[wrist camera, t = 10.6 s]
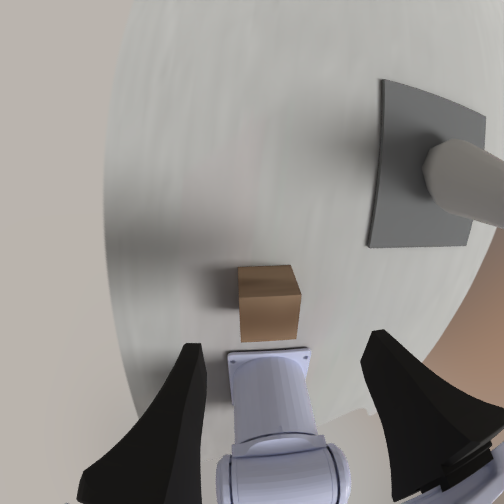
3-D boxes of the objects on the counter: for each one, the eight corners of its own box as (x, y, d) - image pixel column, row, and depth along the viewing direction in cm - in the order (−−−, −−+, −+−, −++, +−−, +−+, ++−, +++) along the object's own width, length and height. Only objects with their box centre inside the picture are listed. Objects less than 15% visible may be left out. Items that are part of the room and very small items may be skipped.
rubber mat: (463, 244, 21) (466, 246, 21) (367, 246, 20) (369, 248, 20) (483, 116, 15) (485, 116, 15) (382, 79, 15) (384, 79, 14)
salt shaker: (422, 214, 19) (538, 305, 7) (404, 149, 17) (555, 208, 5) (466, 187, 18) (576, 252, 6) (452, 126, 16) (585, 166, 4)
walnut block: (287, 306, 23) (296, 338, 19) (239, 308, 22) (241, 342, 19) (290, 264, 21) (301, 294, 17) (237, 266, 21) (238, 297, 17)
